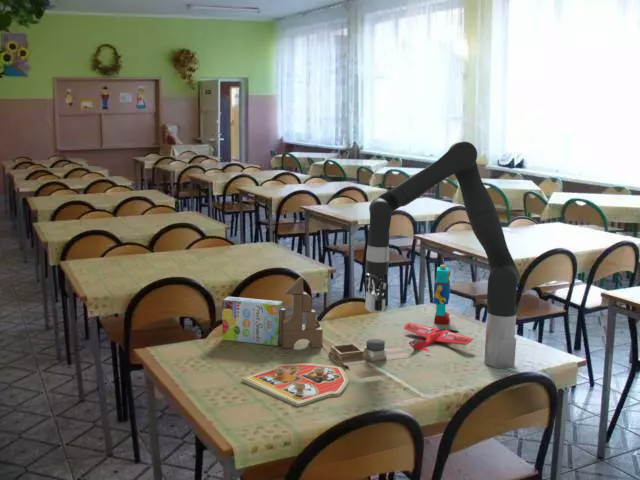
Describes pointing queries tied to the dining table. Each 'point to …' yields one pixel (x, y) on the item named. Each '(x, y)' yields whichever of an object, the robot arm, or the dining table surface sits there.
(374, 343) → the gray push button
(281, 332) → the wooden toy
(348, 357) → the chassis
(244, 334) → the snack box
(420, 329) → the toy airplane
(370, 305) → the white block
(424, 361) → the dining table surface
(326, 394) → the knob puzzle
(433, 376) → the dining table surface
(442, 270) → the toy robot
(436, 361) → the dining table surface
